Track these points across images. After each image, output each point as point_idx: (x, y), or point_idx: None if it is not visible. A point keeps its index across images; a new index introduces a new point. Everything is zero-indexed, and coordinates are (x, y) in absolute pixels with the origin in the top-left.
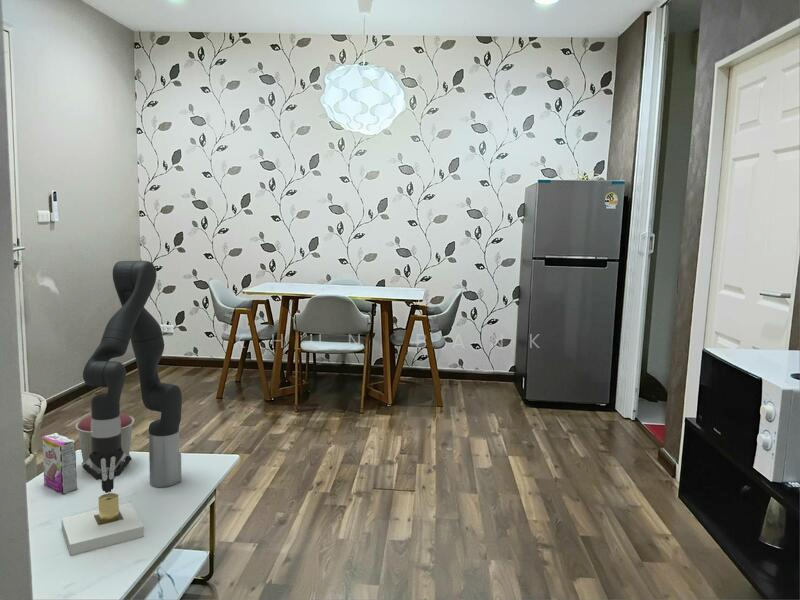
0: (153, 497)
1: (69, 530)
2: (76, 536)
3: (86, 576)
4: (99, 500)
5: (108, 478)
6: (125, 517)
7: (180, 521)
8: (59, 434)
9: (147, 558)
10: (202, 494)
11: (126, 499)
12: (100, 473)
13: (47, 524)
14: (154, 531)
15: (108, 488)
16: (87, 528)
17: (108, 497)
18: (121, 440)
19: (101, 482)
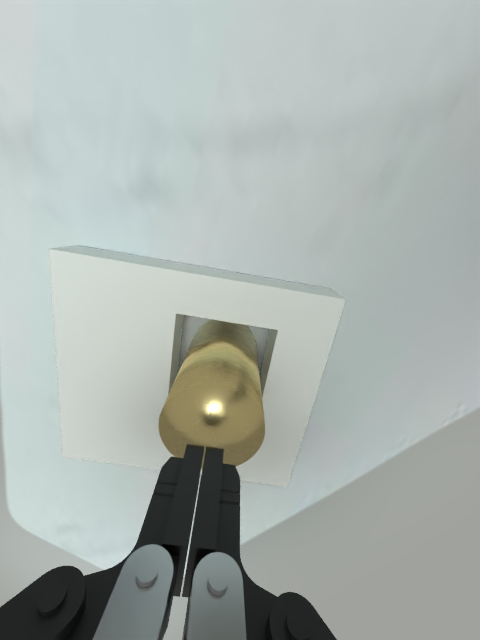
0: (475, 216)
1: (69, 373)
2: (87, 425)
3: (105, 522)
4: (159, 432)
5: (189, 592)
6: (268, 404)
7: (407, 446)
8: None
9: (241, 537)
10: None
11: (383, 147)
12: (103, 614)
13: (27, 165)
14: (318, 450)
15: (195, 512)
16: (130, 397)
17: (210, 431)
18: None
19: (147, 512)
